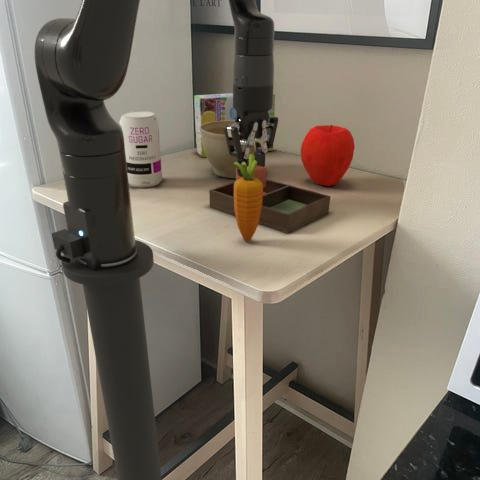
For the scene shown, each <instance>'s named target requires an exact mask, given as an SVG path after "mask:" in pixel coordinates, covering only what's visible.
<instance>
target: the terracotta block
mask: <svg viewBox="0 0 480 480" xmlns="http://www.w3.org/2000/svg"><path fill="white" fill-rule="evenodd" d="M253 177H255V178H258V179H259V180H260V181H261V182H262V184H263V188H264V187H266V179H267V167H266V166H265V167H262V166H258V165H257V166H256V168H255V170H254V173H253ZM240 178H241V177H240V176H239V175H238V173H237V168H236V178H235V181H236V180H238V179H240Z"/></svg>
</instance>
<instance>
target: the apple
mask: <svg viewBox="0 0 480 480" xmlns="http://www.w3.org/2000/svg"><path fill="white" fill-rule="evenodd" d="M299 152H300V159H301V162H302V165H303V168H304V169H305V171H306V173H307V175H308V176H309V179H310V180H311V181H312V182H313V183H314V184H317V185H320V186H322V187H323V186H324V187H329V186H335V185H337V184H338V183H339V182H340V180H342V179H343V177H344V176H345V175H346V173H347V171H348V170H349V168H350V165H351V164H352V161H353V159H354V152H355V140H354V136H353V135H352V132H351V131H350V130H349V129H348V128H346V127H343V126H339V125H333V124H321V125H315V126H313V127H311V128H310V129H308V131H307V132H306V134H305V136H304V138H303V140H302V142H301V146H300V151H299Z"/></svg>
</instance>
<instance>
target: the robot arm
mask: <svg viewBox="0 0 480 480" xmlns="http://www.w3.org/2000/svg"><path fill="white" fill-rule="evenodd" d="M140 3H141V0H81V2H80V5H79V10H78V12H77V15H76V16H75V18H71V17H70V18H68V17H67V18H66V17H60V18H59V17H58V18H54V19H51V20H48V21H47V22H46V23H44V24H43V25H42V27H41V28H40V29H39V31H38V33H37V35H36V36H35V37H36V38H35V41H34V64H35V71H36V75H37V76H36V77H37V80H38V85H39V89H40V94H41V98H42V103H43V107H44V111H45V116H46V119H47V123H48V125H49V128H50V130H51V132H52V133H53V135H54V137H55V140H56V144H57V148H58V153H59V158H60V164H61V169H62V175H63V181H64V185H65V186H64V187H65V191H66V197H67V201H64V202H63V204H62V206H63V212H64V219H65V223H66V228H64V229H60V230H58V231H54V232H51V239H52V243H53V247H54V250H56V251H55V256H56V258H57V259H58V260H59V261H60V262H61V261H64V262H67V263H69V262H70V261H71V260H70V259H69V258H67V257H63V255H64V254H65V255H67V256H69V257H71V258H73V260H75V261H77V262H79V263H80V264H82V265H84V266H86V267H88V268H90V269H92V270H94V271H97V270H100V269H107V268H115V267H119V266H123V265H125V264H128V263H130V262H131V261H133V260H134V259H135V258H136V256H137V249H136V245H135V240H136V237H135V227H134V219H133V211H132V201H131V192H130V191H131V190H130V184H129V182H128V173H127V164H126V154H125V144H124V136H123V131H122V129H121V127H120V123H118V122H117V121H116V120H115V119H114V118H113V117H112V115H111V114H110V112H109V111H108V109H107V107H106V104H105V101H107V100H109V99H111V98H112V97H114V96H115V95H116V94H117V93H118V92H119V90H120V89H121V88H122V86H123V83H124V81H125V80H126V76H127V73H128V69H129V65H130V61H131V55H132V49H133V43H134V37H135V30H136V24H137V19H138V14H139V8H140ZM228 4H229V9H230V13H231V18H232V22H233V26H234V27H233V28H234V39H233V40H234V42H233V44H234V45H233V46H234V47H233V48H234V50H233V51H234V55H233V63H232V93H233V107H234V109H235V110H236V112H237V114H236V118H235V123H234V124H232V125H231V126H228V125H226V126H225V127H224V131H225V136H226V141H227V146H228V150H229V155H231V156H235V157H237V162H238V163H239V164H241V166H242V163H243V162H245V163H246V165H247V167H248V166H249V159H248V156H249V151H250V148H251V147H252V146H253V143H254V149H255V151H256V152H254V156H255V160H256V161H257V165H258V166H262V167H265V168H266V154H267V153H268V151H267V150H268V149H269V148H272V147H273V148H274V143H275V138H276V133H277V129H278V124H279V117H278V116H274V117H273V116H269V113H268V111H269V110H271V109H272V106H273V94H274V82H275V81H274V80H275V59H274V53H275V52H274V49H275V21H274V19H273V18H272V17H270V16H268V15H266V14H263V13H261V12H260V11H259V8H258V6H257V2H256V0H228ZM268 134H269V135H270V136H269V141H267V140H268V137H267V135H268ZM242 138H243V139H246V140H247V141H246V142H245V141H243V140H242ZM259 143H260V144H259ZM243 145H244V152H242V146H243ZM234 147H235V149H236V150H235V149H234ZM242 167H243V166H242ZM237 173H238V175H239V176H240V177H243V175H242V172H241V171H240V170H239V168H238V167H237Z"/></svg>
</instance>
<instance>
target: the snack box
mask: <svg viewBox="0 0 480 480" xmlns="http://www.w3.org/2000/svg"><path fill="white" fill-rule="evenodd" d="M193 101H194V124H195V146H196V154H198V155H199V156H200V157H202V158H207V157H206V155H205V152H204V149H203V146H202V140H201V132H200V126H201V125H202V124H204V123H208V122H213V121H225V120H235V118H236V114H237V112H236V110H235V109H234V107H233V92H229V93H215V94H196V95H193ZM275 110H276V94H275V93H273V106H272V109H271V110H269V111H268V113H269V116H273V117H275ZM269 136H270V135H269V134H268V135H267V137H268V140H267V141H269ZM272 151H274V146H273V147H272V148H269V149H268V150H267V152H272Z"/></svg>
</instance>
